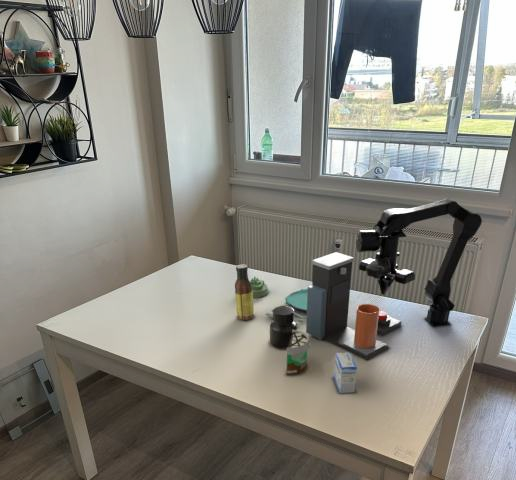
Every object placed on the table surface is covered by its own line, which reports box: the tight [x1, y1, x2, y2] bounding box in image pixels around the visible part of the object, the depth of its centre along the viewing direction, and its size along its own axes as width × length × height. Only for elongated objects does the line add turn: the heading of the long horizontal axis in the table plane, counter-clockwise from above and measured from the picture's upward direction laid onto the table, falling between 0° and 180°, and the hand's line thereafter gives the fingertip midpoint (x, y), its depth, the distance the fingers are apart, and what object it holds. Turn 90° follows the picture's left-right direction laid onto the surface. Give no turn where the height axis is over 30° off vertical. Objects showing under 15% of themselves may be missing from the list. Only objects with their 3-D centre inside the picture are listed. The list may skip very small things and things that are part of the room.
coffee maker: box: [305, 251, 390, 361], centre depth 156 cm, size 14×25×26 cm, turn 41°
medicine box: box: [333, 352, 358, 394], centre depth 138 cm, size 8×4×9 cm, turn 5°
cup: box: [354, 303, 380, 349], centre depth 155 cm, size 7×7×12 cm
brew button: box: [378, 310, 388, 320], centre depth 169 cm, size 4×4×2 cm
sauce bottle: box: [234, 263, 255, 321], centre depth 174 cm, size 7×6×20 cm
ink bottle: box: [269, 305, 298, 350], centre depth 159 cm, size 10×9×12 cm
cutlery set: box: [264, 288, 308, 326], centre depth 184 cm, size 20×30×2 cm, turn 136°
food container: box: [285, 329, 311, 376], centre depth 146 cm, size 12×6×10 cm, turn 168°
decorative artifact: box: [249, 276, 269, 299], centre depth 197 cm, size 10×7×10 cm
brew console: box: [377, 314, 402, 337], centre depth 170 cm, size 11×10×4 cm
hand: (383, 294), depth 165 cm, fingers closed
